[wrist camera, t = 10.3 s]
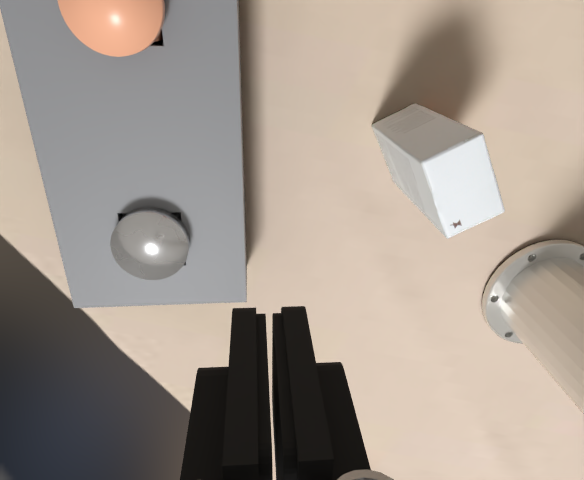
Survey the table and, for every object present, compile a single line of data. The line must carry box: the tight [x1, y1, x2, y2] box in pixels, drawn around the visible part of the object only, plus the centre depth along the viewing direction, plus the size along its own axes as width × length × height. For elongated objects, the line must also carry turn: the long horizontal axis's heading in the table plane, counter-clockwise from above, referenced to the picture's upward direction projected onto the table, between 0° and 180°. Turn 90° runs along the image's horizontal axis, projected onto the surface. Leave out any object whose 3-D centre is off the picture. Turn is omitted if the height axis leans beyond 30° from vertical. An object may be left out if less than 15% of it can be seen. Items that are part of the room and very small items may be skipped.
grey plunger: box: [110, 207, 190, 280], centre depth 35 cm, size 6×6×6 cm
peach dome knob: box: [58, 0, 165, 57], centre depth 27 cm, size 6×6×6 cm
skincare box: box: [372, 103, 505, 238], centre depth 33 cm, size 6×4×12 cm
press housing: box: [0, 0, 247, 308], centre depth 33 cm, size 14×28×6 cm, turn 179°
